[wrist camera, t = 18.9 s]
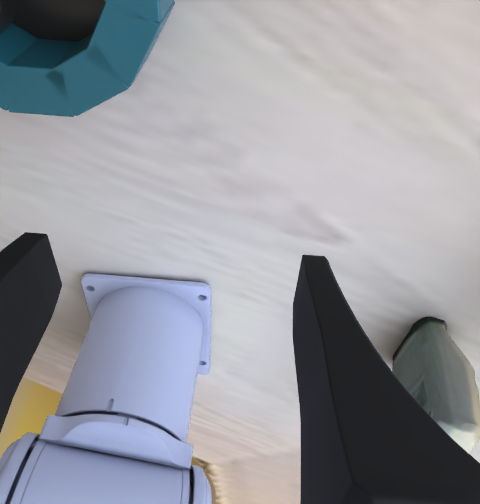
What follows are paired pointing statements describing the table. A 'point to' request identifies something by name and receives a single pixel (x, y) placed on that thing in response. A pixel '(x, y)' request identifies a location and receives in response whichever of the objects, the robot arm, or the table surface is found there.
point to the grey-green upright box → (440, 380)
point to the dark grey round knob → (52, 17)
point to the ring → (79, 60)
